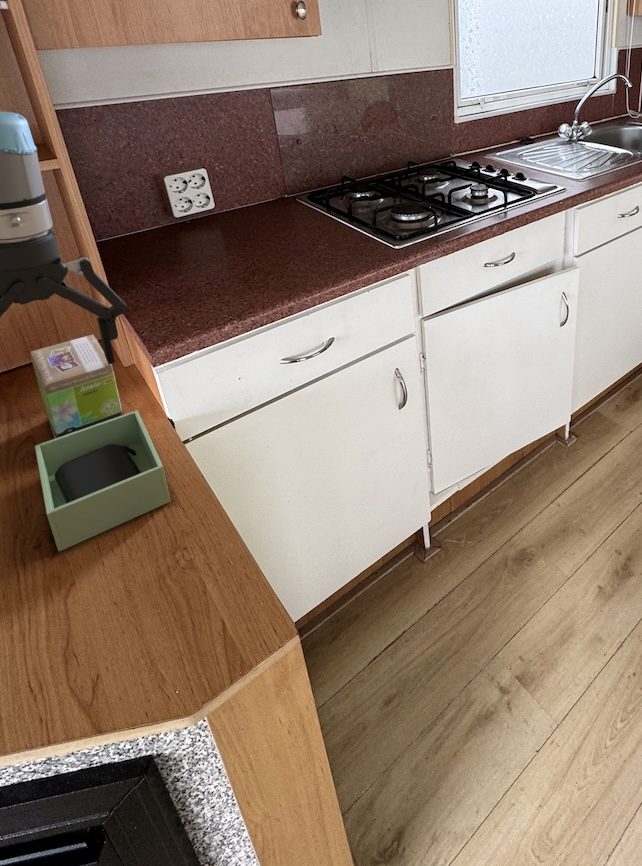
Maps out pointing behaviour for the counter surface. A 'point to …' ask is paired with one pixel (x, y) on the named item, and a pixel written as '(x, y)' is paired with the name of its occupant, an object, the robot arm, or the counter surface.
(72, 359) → the tea box
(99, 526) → the storage bin
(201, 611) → the counter surface
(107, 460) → the carrying case
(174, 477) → the counter surface
